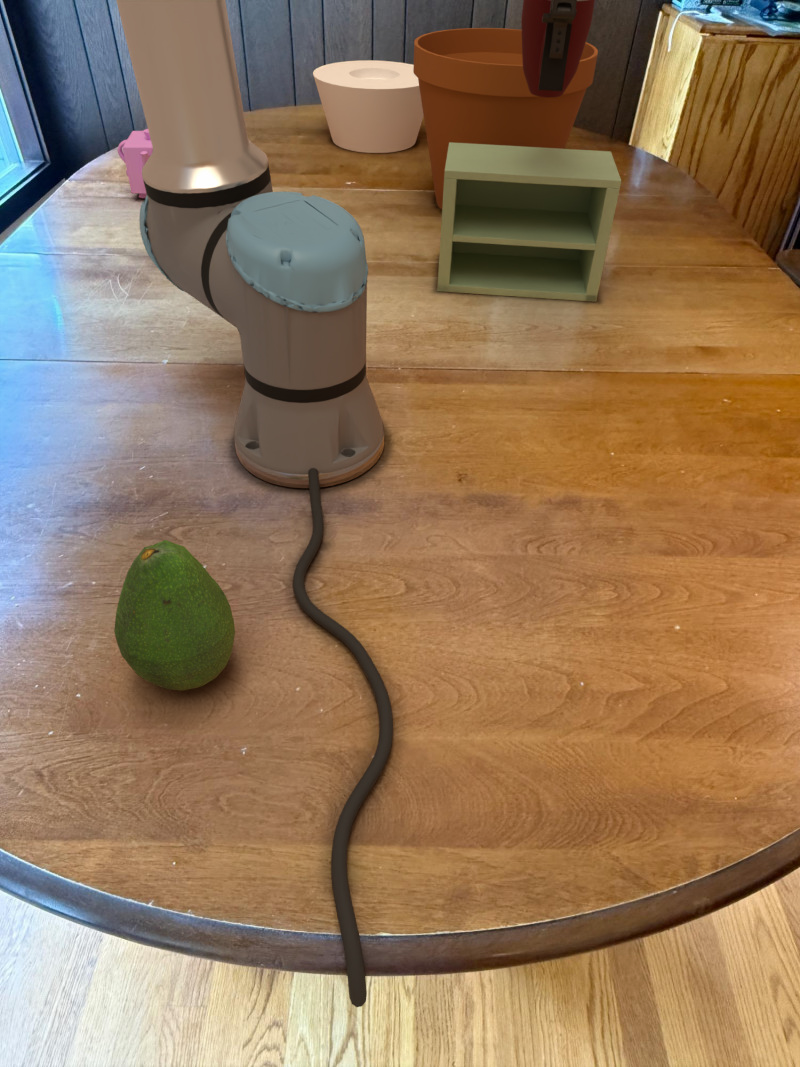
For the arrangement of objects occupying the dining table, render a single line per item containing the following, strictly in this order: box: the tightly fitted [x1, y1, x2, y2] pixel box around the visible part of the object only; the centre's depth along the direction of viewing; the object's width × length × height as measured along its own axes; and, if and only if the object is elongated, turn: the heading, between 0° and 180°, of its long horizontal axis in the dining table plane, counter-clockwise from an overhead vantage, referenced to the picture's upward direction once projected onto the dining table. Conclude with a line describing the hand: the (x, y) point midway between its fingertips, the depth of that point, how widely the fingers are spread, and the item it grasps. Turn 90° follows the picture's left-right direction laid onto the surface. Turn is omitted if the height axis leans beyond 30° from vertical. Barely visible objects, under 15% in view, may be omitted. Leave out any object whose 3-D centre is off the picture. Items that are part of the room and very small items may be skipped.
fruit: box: [113, 539, 236, 691], centre depth 54 cm, size 8×8×12 cm
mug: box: [520, 0, 596, 97], centre depth 91 cm, size 10×8×10 cm
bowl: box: [312, 59, 424, 154], centre depth 156 cm, size 24×24×12 cm
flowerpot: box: [413, 27, 599, 210], centre depth 126 cm, size 28×28×24 cm
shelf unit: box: [436, 142, 622, 303], centre depth 106 cm, size 12×22×16 cm, turn 85°
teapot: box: [117, 128, 153, 199], centre depth 130 cm, size 18×13×10 cm
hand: (548, 78), depth 93 cm, fingers closed on mug, 10 cm apart
